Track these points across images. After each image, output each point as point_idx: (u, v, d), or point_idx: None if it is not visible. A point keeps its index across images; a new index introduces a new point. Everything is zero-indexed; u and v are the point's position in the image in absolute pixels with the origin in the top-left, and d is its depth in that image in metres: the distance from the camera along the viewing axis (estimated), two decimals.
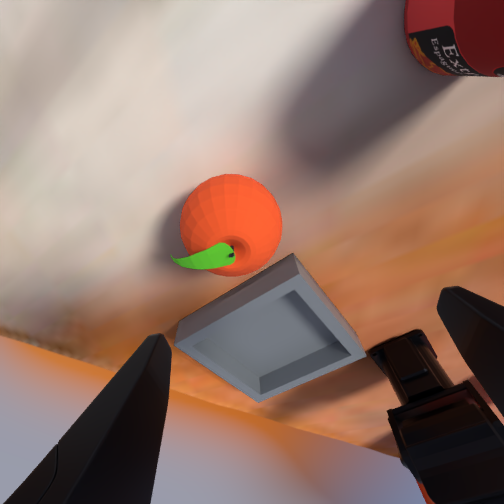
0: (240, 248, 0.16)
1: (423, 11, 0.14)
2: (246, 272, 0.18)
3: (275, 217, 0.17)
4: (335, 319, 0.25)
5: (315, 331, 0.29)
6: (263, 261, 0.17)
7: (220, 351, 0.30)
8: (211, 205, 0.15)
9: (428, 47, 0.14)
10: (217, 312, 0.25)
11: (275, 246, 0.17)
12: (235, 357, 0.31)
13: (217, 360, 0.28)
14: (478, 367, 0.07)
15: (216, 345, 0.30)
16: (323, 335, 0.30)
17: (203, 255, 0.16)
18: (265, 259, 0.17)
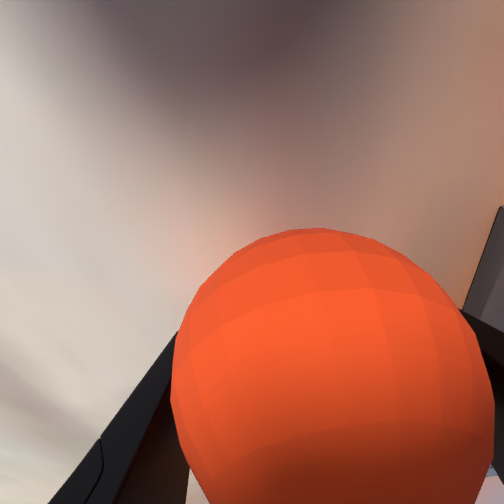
0: None
1: None
2: None
3: (362, 329, 0.04)
4: None
5: None
6: (489, 456, 0.04)
7: None
8: (193, 470, 0.05)
9: None
10: None
11: (472, 381, 0.04)
12: None
13: None
14: None
15: None
16: None
17: None
18: (488, 446, 0.04)
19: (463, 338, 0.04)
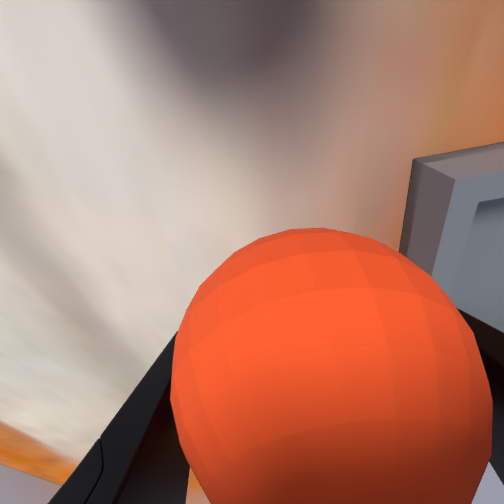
0: None
1: None
2: None
3: (361, 327, 0.04)
4: None
5: None
6: (487, 454, 0.04)
7: None
8: (193, 468, 0.05)
9: None
10: None
11: (470, 379, 0.04)
12: None
13: None
14: None
15: None
16: None
17: None
18: (486, 444, 0.04)
19: (461, 337, 0.05)
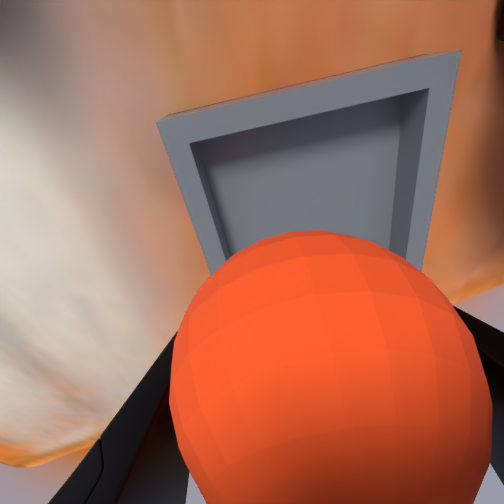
0: None
1: None
2: None
3: (360, 333, 0.04)
4: (299, 91, 0.12)
5: (347, 138, 0.16)
6: (486, 458, 0.04)
7: None
8: (192, 472, 0.05)
9: None
10: None
11: (470, 384, 0.04)
12: None
13: None
14: None
15: None
16: (367, 127, 0.15)
17: None
18: (486, 449, 0.04)
19: (461, 341, 0.04)
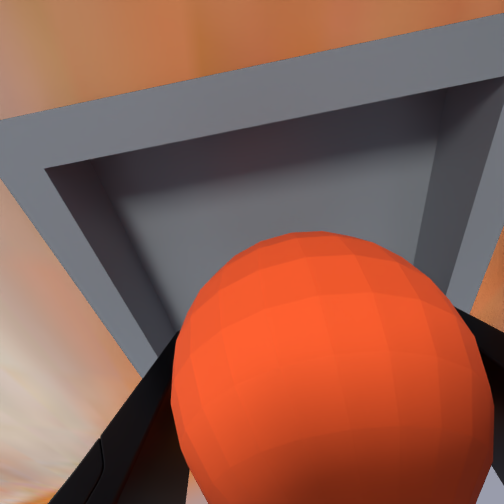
0: None
1: None
2: None
3: (362, 334, 0.04)
4: (249, 72, 0.06)
5: (346, 160, 0.09)
6: (488, 459, 0.04)
7: None
8: (194, 473, 0.05)
9: None
10: None
11: (472, 385, 0.04)
12: None
13: None
14: None
15: None
16: (381, 143, 0.09)
17: None
18: (488, 450, 0.04)
19: (463, 342, 0.04)
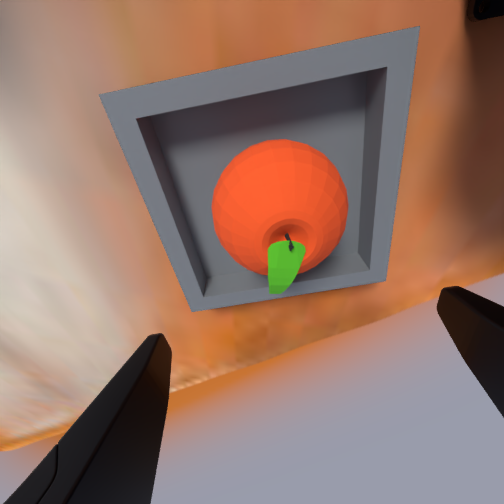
0: (292, 228, 0.11)
1: None
2: (335, 235, 0.12)
3: (286, 158, 0.11)
4: (248, 65, 0.12)
5: (309, 121, 0.15)
6: (334, 206, 0.11)
7: None
8: (225, 229, 0.12)
9: None
10: None
11: (327, 178, 0.11)
12: None
13: (256, 284, 0.19)
14: (478, 367, 0.07)
15: (250, 271, 0.21)
16: (330, 110, 0.15)
17: (274, 272, 0.12)
18: (333, 202, 0.11)
19: (328, 168, 0.12)
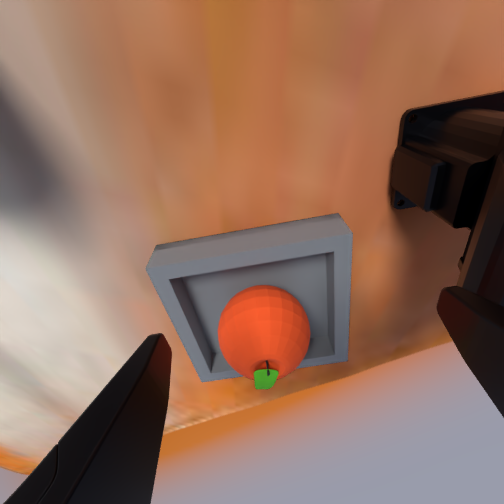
0: (269, 360, 0.18)
1: None
2: (298, 360, 0.18)
3: (265, 316, 0.18)
4: (243, 253, 0.18)
5: (287, 263, 0.21)
6: (297, 346, 0.18)
7: None
8: (226, 355, 0.19)
9: None
10: None
11: (291, 328, 0.18)
12: None
13: None
14: (478, 367, 0.07)
15: None
16: (301, 257, 0.21)
17: (258, 383, 0.19)
18: (296, 343, 0.18)
19: (293, 318, 0.18)
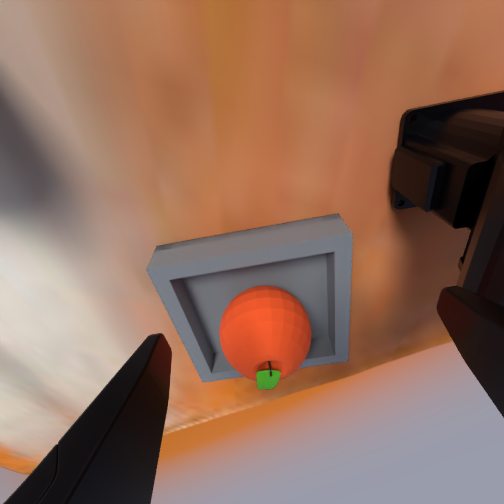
0: (272, 360, 0.18)
1: None
2: (300, 360, 0.18)
3: (266, 317, 0.18)
4: (244, 253, 0.18)
5: (287, 263, 0.21)
6: (298, 346, 0.18)
7: None
8: (228, 356, 0.19)
9: None
10: None
11: (293, 328, 0.18)
12: None
13: None
14: (478, 367, 0.07)
15: None
16: (301, 257, 0.21)
17: (261, 384, 0.19)
18: (298, 344, 0.18)
19: (294, 319, 0.18)
